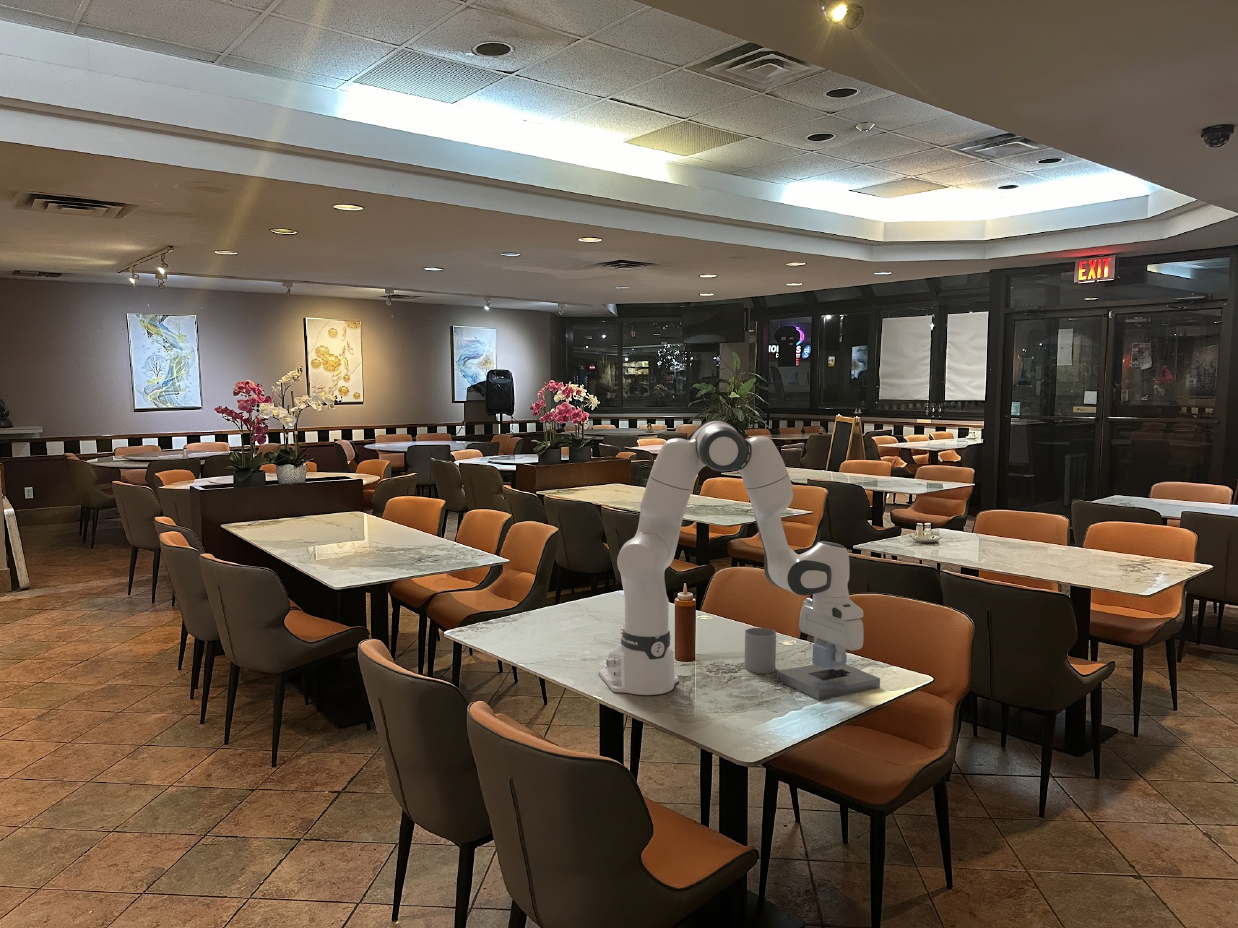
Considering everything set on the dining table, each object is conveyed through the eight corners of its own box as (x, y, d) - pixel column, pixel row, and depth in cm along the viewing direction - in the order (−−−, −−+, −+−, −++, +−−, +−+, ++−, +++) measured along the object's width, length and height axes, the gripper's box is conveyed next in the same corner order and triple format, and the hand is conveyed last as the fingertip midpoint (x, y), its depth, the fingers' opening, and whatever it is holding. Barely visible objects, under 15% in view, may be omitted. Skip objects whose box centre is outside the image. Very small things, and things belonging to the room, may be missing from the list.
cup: (741, 670, 218) (742, 634, 217) (747, 661, 226) (748, 626, 225) (772, 674, 215) (773, 637, 214) (777, 665, 223) (778, 629, 222)
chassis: (777, 680, 210) (777, 670, 210) (835, 669, 220) (836, 660, 220) (818, 700, 196) (819, 690, 196) (879, 687, 206) (880, 678, 205)
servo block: (812, 663, 208) (813, 640, 208) (837, 658, 212) (838, 636, 211) (824, 668, 204) (825, 645, 204) (849, 663, 208) (850, 640, 207)
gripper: (794, 597, 214) (792, 648, 215) (849, 615, 196) (847, 671, 197) (812, 594, 217) (811, 645, 218) (868, 612, 199) (866, 667, 200)
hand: (828, 657), depth 207 cm, fingers closed on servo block, 4 cm apart
